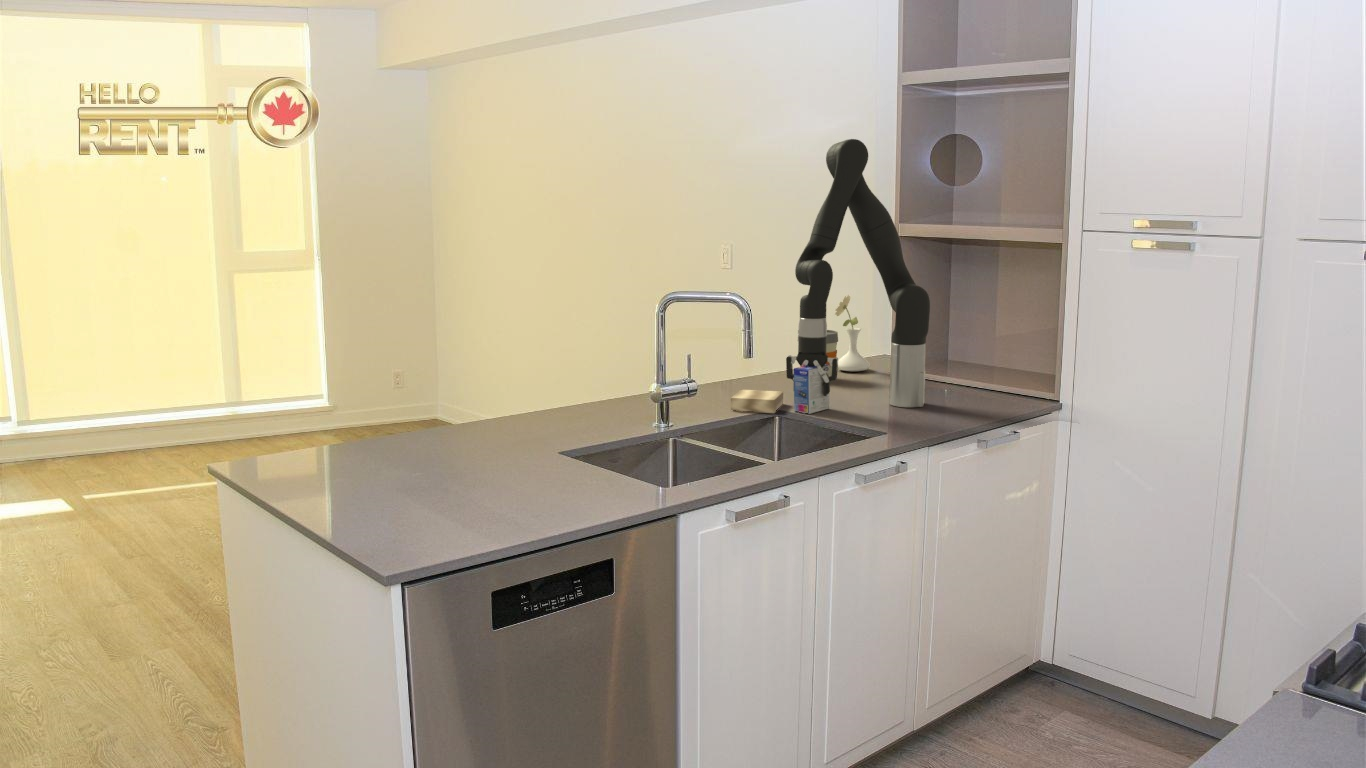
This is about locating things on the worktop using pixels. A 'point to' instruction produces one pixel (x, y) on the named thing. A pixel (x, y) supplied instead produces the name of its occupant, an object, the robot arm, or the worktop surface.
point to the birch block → (757, 401)
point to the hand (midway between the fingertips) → (811, 394)
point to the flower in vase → (851, 343)
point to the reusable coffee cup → (831, 347)
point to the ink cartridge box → (809, 390)
